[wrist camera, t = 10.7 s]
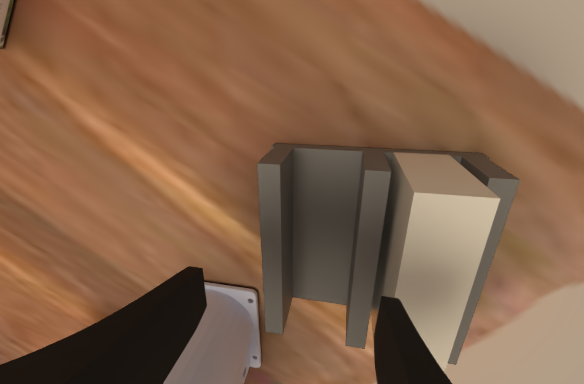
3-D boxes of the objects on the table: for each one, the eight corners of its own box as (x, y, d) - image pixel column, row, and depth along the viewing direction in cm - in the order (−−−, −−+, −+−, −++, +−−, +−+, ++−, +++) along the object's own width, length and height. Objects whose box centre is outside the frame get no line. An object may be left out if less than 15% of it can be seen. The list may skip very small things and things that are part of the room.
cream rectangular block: (413, 314, 20) (435, 401, 15) (370, 308, 21) (377, 390, 16) (449, 154, 16) (500, 198, 10) (393, 152, 16) (414, 192, 11)
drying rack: (438, 308, 21) (459, 365, 17) (278, 285, 23) (262, 331, 19) (481, 153, 16) (525, 180, 12) (275, 143, 18) (253, 163, 14)
